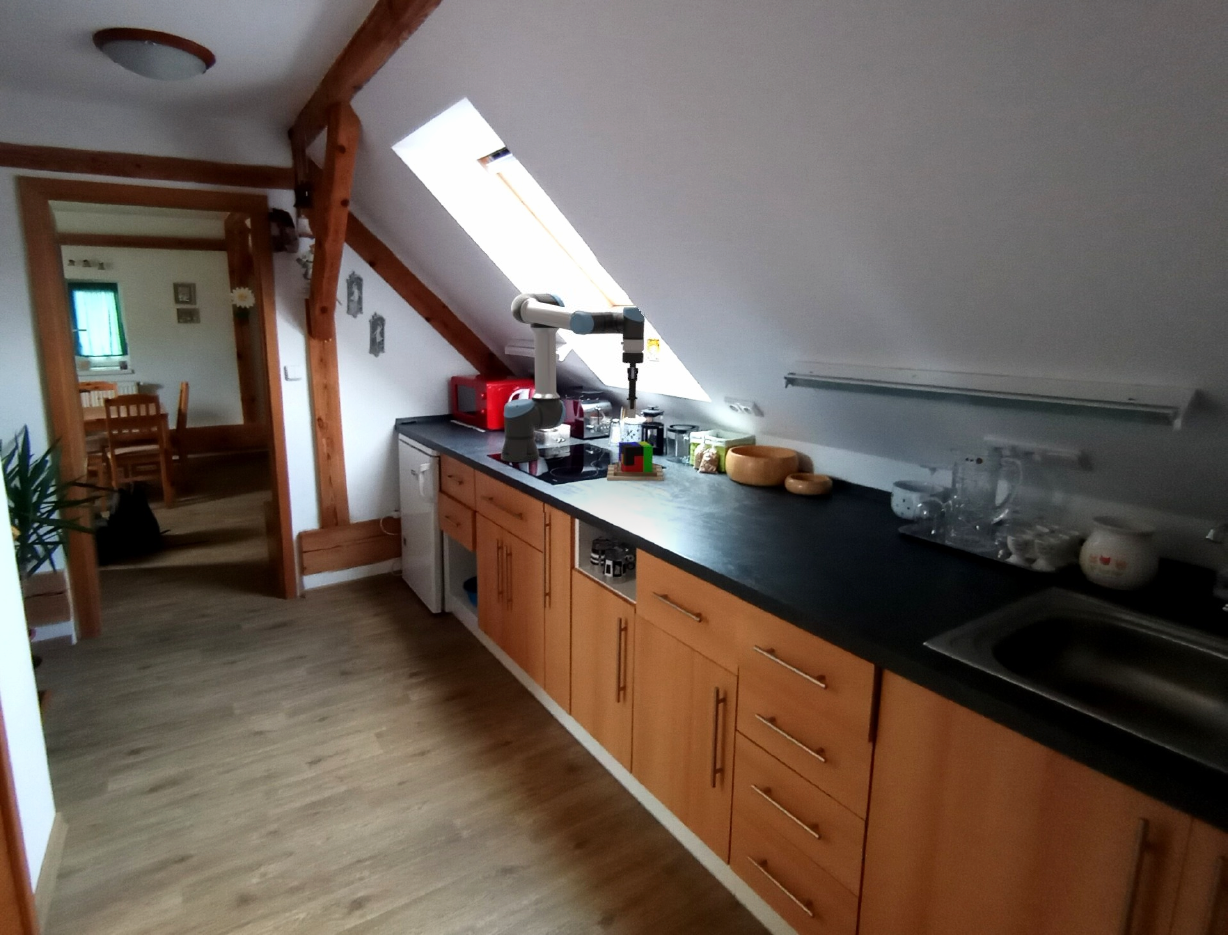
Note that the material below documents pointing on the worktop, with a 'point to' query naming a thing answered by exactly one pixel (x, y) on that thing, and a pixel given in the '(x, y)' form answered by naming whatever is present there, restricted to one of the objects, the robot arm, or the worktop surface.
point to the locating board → (635, 474)
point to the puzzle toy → (635, 457)
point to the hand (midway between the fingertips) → (631, 417)
